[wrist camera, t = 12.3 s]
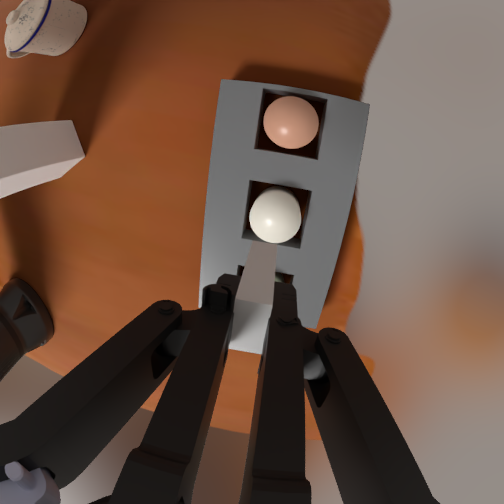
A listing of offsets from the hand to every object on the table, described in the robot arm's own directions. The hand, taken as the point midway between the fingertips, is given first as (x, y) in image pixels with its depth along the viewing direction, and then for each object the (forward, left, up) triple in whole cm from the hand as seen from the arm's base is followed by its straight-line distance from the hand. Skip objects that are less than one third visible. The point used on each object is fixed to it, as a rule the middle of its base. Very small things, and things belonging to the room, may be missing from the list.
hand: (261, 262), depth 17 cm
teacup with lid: (+23, +34, -14) cm, 43 cm away
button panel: (0, 0, -14) cm, 14 cm away
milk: (+5, +29, -14) cm, 32 cm away
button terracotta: (+9, 0, -14) cm, 16 cm away
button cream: (0, 0, -14) cm, 14 cm away
